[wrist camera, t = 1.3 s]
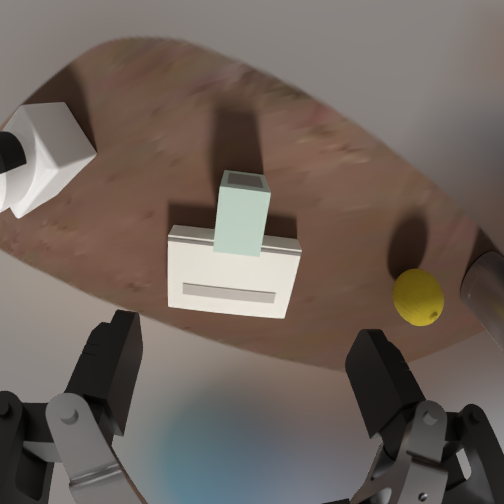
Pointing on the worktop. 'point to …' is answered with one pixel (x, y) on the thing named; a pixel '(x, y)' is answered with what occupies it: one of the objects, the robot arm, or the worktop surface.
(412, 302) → the lemon
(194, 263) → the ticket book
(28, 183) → the medicine bottle
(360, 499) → the robot arm
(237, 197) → the pale green block
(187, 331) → the worktop surface
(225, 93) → the worktop surface
